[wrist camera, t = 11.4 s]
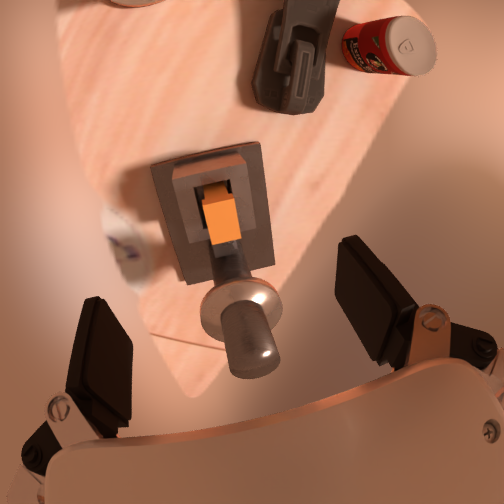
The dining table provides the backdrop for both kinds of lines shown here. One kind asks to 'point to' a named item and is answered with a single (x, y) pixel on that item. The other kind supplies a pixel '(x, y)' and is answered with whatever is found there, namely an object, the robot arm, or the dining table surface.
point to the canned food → (391, 47)
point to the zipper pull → (294, 57)
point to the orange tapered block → (220, 213)
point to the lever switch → (226, 251)
